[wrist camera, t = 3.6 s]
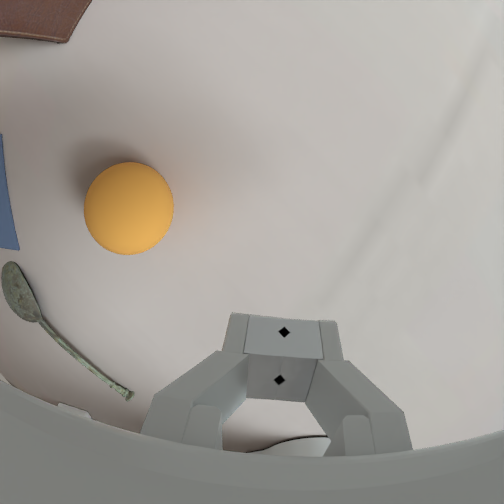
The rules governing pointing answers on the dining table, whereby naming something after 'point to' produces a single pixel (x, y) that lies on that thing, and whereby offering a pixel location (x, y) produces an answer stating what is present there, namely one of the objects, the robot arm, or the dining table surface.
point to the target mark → (6, 210)
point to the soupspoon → (28, 310)
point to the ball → (128, 208)
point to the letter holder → (41, 18)
